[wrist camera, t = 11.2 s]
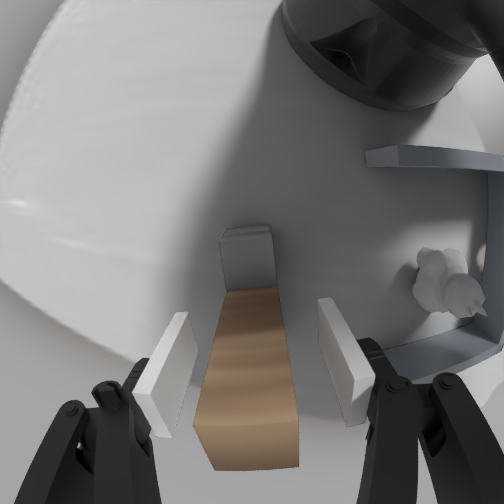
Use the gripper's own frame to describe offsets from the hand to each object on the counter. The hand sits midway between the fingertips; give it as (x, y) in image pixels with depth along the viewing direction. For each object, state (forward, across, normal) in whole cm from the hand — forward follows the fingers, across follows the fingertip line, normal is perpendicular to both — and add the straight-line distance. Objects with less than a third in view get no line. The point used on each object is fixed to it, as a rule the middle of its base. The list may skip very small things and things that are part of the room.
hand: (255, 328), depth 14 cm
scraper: (+6, 0, 0) cm, 6 cm away
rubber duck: (+6, +15, -1) cm, 16 cm away
